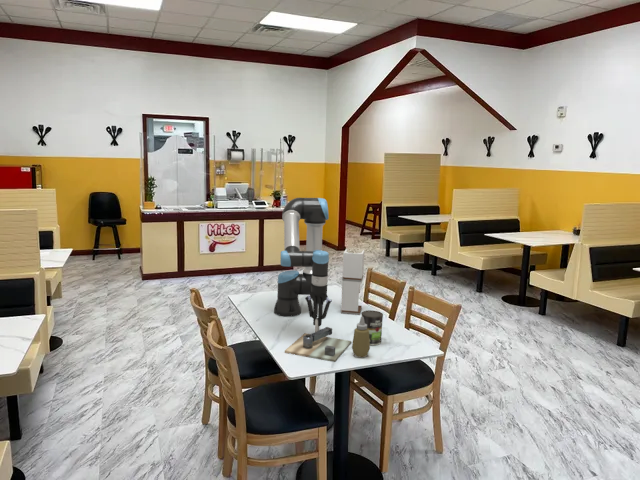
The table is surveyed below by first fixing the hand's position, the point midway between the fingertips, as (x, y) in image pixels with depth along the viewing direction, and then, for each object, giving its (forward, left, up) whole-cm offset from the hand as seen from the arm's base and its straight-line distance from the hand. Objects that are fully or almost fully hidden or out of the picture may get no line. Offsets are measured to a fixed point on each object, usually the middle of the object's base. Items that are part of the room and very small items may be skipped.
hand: (316, 332), depth 236 cm
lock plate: (+3, -6, -5) cm, 9 cm away
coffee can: (+23, +12, -5) cm, 27 cm away
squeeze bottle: (+23, -6, -5) cm, 25 cm away
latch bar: (+2, -3, -4) cm, 5 cm away
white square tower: (+1, +52, -5) cm, 52 cm away
